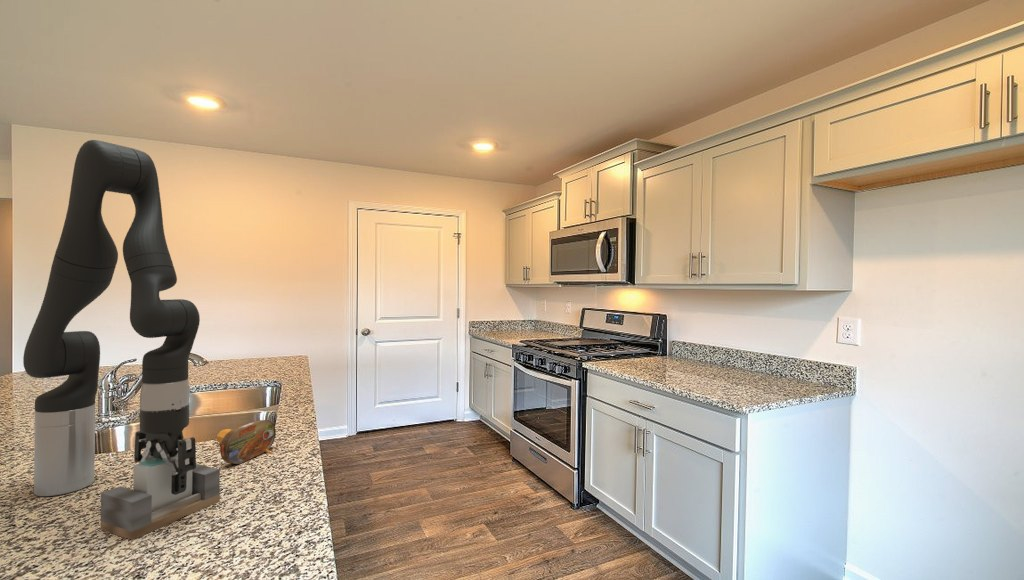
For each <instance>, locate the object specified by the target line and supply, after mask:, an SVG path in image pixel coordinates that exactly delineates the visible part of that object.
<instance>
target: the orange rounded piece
mask: <svg viewBox="0 0 1024 580" xmlns="http://www.w3.org/2000/svg"><path fill="white" fill-rule="evenodd" d="M231 430H232V428H226V429H225V428H224V429H221V430H220V432H219V433H218V434H216V442H218V444H220V445H221V442H222V440H223V438H224V436H225V435H226V434H227V433H228V432H229V431H231ZM265 453H266V454H272V453H273V454H275V453H274V452H272V451H271V450H270V449H267V450H266V452H265ZM265 453H264V454H265Z"/></svg>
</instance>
